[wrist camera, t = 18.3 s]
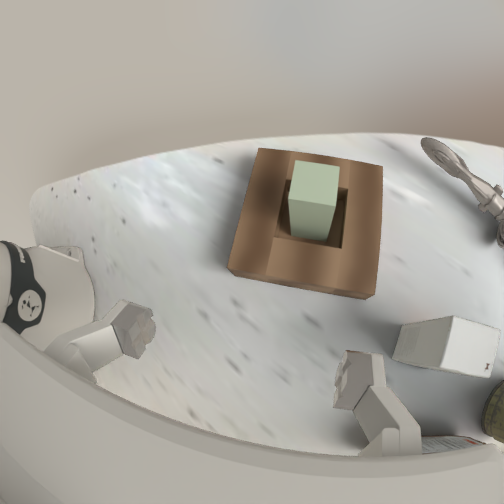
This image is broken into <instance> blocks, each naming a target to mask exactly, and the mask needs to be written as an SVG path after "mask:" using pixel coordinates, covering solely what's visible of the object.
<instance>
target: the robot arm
mask: <svg viewBox="0 0 504 504" xmlns="http://www.w3.org/2000/svg"><path fill="white" fill-rule="evenodd" d="M94 310H95V297H94V289H93V285H92V281H91V279H90V276H89V274H88V272H87V270H86V268H85V266H84V259H83V252H82V249H81V248H79V247H75V246H73V247H51V248H48V247H45V246H43V245H39V246H38V247H30V248H25V249H23V248H21V247H19V246H18V245H16V244H14V243H11V242H7V241H0V504H504V454H503V452H502V451H501V450H500V449H499V448H498V447H497V446H496V445H495V444H484V445H480V446H475V447H471V448H465V449H460V450H454V451H447V452H440V453H432V454H422V443H421V429H420V426H419V424H418V423H417V422H416V421H415V419H414V418H413V417H412V415H411V414H410V413H409V411H408V410H407V409H406V408H405V406H404V405H403V404H402V402H401V401H400V400H399V399H398V397H397V396H396V395H395V393H394V392H393V391H392V390H391V388H390V387H386V378H385V368H384V360H383V355H382V354H377V353H368V352H359V351H350V350H346V351H345V352H344V354H343V362H341V363H340V364H339V366H338V369H337V372H336V377H335V386H336V388H337V389H336V391H335V393H334V402H333V408H339V409H347V410H353V412H354V414H355V416H356V418H357V420H358V422H359V424H360V426H361V428H362V429H363V431H364V433H365V435H366V437H367V439H368V441H369V444H368V445H367V446H366V447H365V448H364V449H363V450H362V451H361V452H359V453H358V456H342V455H328V454H318V453H309V452H302V451H295V450H288V449H282V448H276V447H271V446H266V445H261V444H256V443H252V442H247V441H243V440H239V439H235V438H231V437H227V436H224V435H220V434H216V433H213V432H210V431H206V430H203V429H200V428H197V427H194V426H191V425H188V424H185V423H182V422H179V421H176V420H174V419H171V418H168V417H166V416H163V415H161V414H158V413H156V412H153V411H151V410H148V409H146V408H144V407H141V406H139V405H137V404H135V403H132V402H130V401H128V400H126V399H124V398H122V397H120V396H118V395H115V394H113V393H111V392H109V391H108V390H106V389H104V388H102V387H100V386H98V385H96V383H97V381H96V378H95V377H94V375H93V373H92V372H94V371H96V370H97V369H99V368H101V367H103V366H104V365H106V364H108V363H110V362H111V361H113V360H115V359H117V358H118V357H120V356H122V355H123V354H125V355H128V356H131V357H133V358H136V359H139V358H140V357H141V355H142V354H143V352H144V351H145V350H146V346H145V345H146V344H148V343H150V342H151V341H152V339H153V338H154V335H155V332H156V326H155V322H154V321H153V320H152V319H151V317H152V316H153V313H152V310H151V309H150V308H147V307H144V306H141V305H138V304H135V303H132V302H129V301H126V300H120V301H119V302H118V303H117V304H116V305H115V306H114V307H113V308H112V309H111V310H110V311H109V312H108V314H107V315H106V316H105V317H104V318H103V319H102V320H101V321H100V320H97V321H94V322H93V317H94Z"/></svg>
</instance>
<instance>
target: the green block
mask: <svg viewBox="0 0 504 504" xmlns="http://www.w3.org/2000/svg"><path fill="white" fill-rule="evenodd" d="M339 170H340V167H338V166H332V165H326V164H319V163H312V162H305V161H298V160H295V166H294V171H293V176H292V181H291V187H290V192H289V197H288V203H289V214H290V226H291V236H294V237H300V238H306V239H312V240H318V241H324V242H326V241H327V237H328V234H329V230H330V226H331V223H332V219H333V215H334V211H335V207H336V200H337V191H338V181H339Z"/></svg>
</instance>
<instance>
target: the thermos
mask: <svg viewBox="0 0 504 504" xmlns="http://www.w3.org/2000/svg"><path fill="white" fill-rule="evenodd" d="M481 422H482V429H483V431H484V433H485V434H487V435H489V436H491V437H493V438H494V439H495V440H497V441H499V442H502V443H504V380H503V381H502V382H500V383H499V384H498V385H497V386H496V387H495V389H494V390H493V391H492V393H491V394H490V396H489V398H488V400H487V402H486V404H485V407H484V410H483V414H482V421H481Z"/></svg>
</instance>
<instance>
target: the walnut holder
mask: <svg viewBox="0 0 504 504" xmlns="http://www.w3.org/2000/svg"><path fill="white" fill-rule="evenodd" d="M295 160H298V161H305V162H312V163H319V164H326V165H332V166H338V167H340V170H339V181H338V191H337V200H336V207H335V211H334V215H333V219H332V223H331V226H330V230H329V234H328V237H327V241H326V242H324V241H318V240H312V239H306V238H300V237H294V236H291V226H290V214H289V203H288V197H289V192H290V187H291V181H292V176H293V171H294V166H295ZM382 196H383V166H379V165H374V164H369V163H364V162H359V161H353V160H348V159H342V158H336V157H330V156H323V155H317V154H310V153H302V152H294V151H286V150H276V149H266V148H258V152H257V156H256V159H255V163H254V166H253V170H252V174H251V177H250V181H249V185H248V189H247V192H246V196H245V200H244V203H243V207H242V211H241V215H240V219H239V222H238V226H237V230H236V234H235V238H234V242H233V246H232V249H231V253H230V257H229V261H228V265H227V268H228V269H229V270H230V271H231V272H232V273H233V274H234V275H235V276H238V277H243V278H248V279H253V280H258V281H263V282H268V283H274V284H279V285H284V286H289V287H295V288H300V289H306V290H311V291H317V292H322V293H328V294H334V295H339V296H345V297H351V298H357V299H363V300H366V299H368V298H369V297H371V296H373V295H375V288H376V280H377V271H378V262H379V251H380V239H381V223H382Z"/></svg>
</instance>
